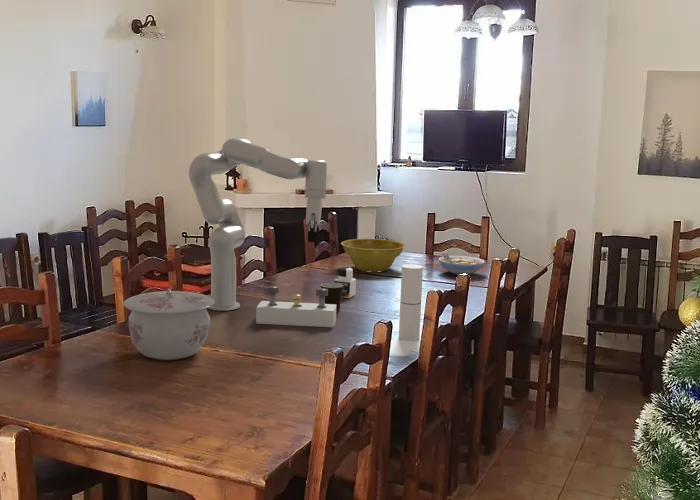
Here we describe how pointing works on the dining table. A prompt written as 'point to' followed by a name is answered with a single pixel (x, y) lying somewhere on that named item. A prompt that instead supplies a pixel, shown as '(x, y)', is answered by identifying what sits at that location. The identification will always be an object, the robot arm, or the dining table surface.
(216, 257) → the robot arm
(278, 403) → the dining table surface
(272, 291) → the knob
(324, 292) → the knob
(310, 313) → the mount
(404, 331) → the cylindrical container
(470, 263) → the ramen bowl
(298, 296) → the brass dial
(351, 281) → the medicine bottle
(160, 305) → the chamber pot
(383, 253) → the planter bowl
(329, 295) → the coffee mug
